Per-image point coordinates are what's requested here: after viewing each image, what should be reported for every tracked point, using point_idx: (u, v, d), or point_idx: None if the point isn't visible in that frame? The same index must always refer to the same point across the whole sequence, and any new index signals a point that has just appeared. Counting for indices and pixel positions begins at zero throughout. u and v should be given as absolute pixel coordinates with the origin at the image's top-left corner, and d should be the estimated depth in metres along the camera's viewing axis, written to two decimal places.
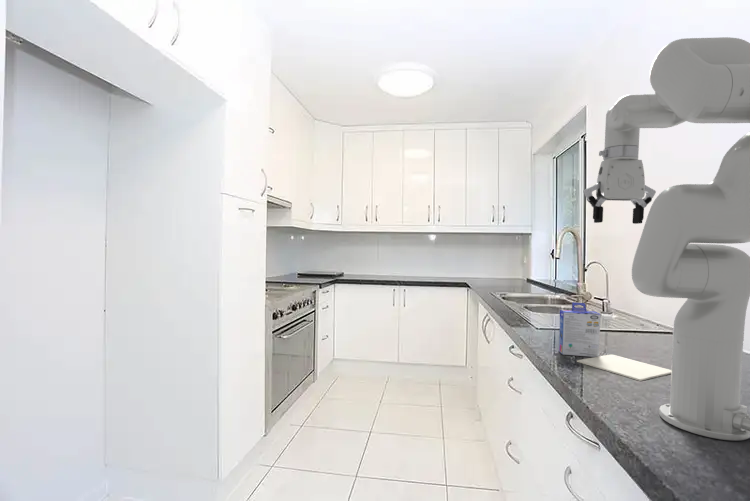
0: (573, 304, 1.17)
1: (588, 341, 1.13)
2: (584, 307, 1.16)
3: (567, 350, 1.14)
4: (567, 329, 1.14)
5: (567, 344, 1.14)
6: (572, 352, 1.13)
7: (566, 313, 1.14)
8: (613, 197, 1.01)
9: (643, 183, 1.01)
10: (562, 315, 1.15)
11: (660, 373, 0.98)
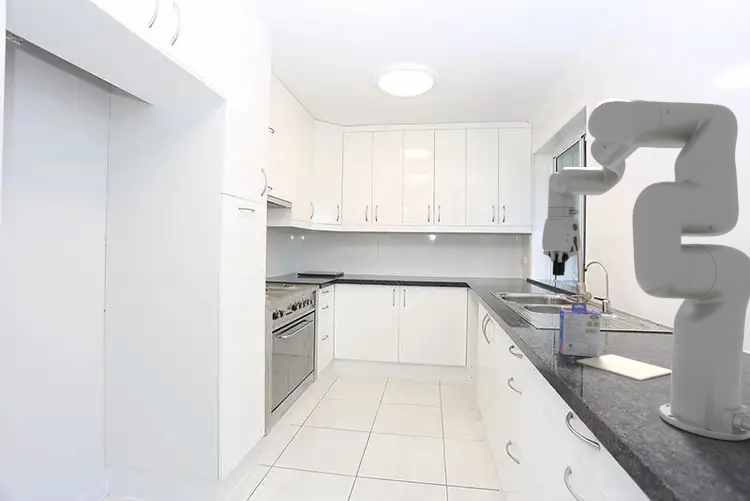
0: (573, 304, 1.17)
1: (588, 341, 1.13)
2: (584, 307, 1.16)
3: (567, 350, 1.14)
4: (567, 329, 1.14)
5: (567, 344, 1.14)
6: (572, 352, 1.13)
7: (566, 313, 1.14)
8: None
9: None
10: (562, 315, 1.15)
11: (660, 373, 0.98)
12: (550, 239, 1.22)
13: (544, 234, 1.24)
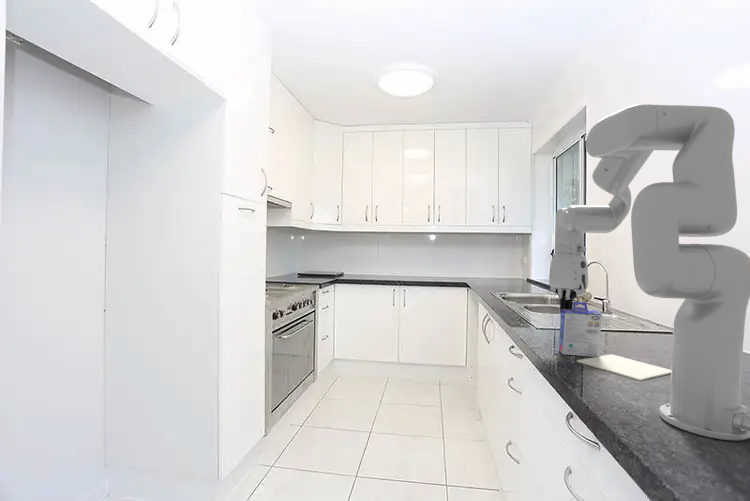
0: (574, 304, 1.15)
1: (588, 341, 1.12)
2: (585, 307, 1.15)
3: (567, 350, 1.13)
4: (568, 329, 1.13)
5: (567, 344, 1.13)
6: (572, 352, 1.13)
7: (567, 314, 1.13)
8: None
9: None
10: (563, 315, 1.14)
11: (660, 373, 0.98)
12: (557, 276, 1.19)
13: (551, 270, 1.21)
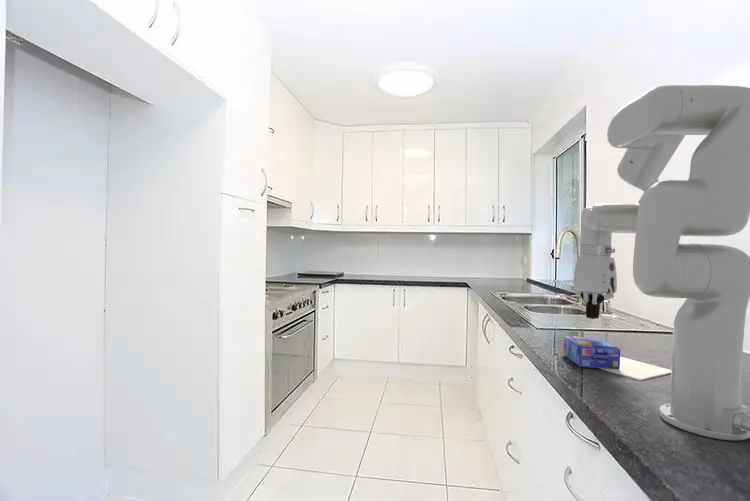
0: (597, 356, 0.99)
1: None
2: (608, 357, 1.00)
3: None
4: None
5: None
6: None
7: (581, 366, 1.02)
8: None
9: None
10: (577, 361, 1.03)
11: (660, 373, 0.98)
12: (583, 279, 1.12)
13: (576, 273, 1.14)
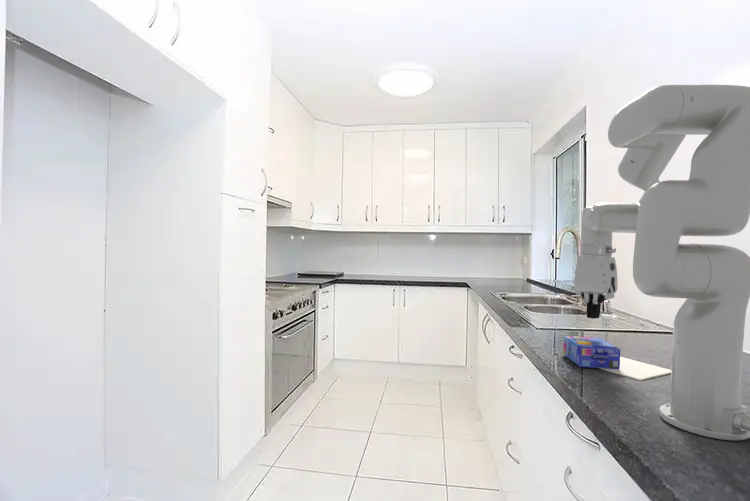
0: (597, 356, 0.99)
1: None
2: (608, 357, 1.00)
3: None
4: None
5: None
6: None
7: (581, 366, 1.02)
8: None
9: None
10: (577, 361, 1.03)
11: (660, 373, 0.98)
12: (584, 278, 1.12)
13: (577, 272, 1.14)
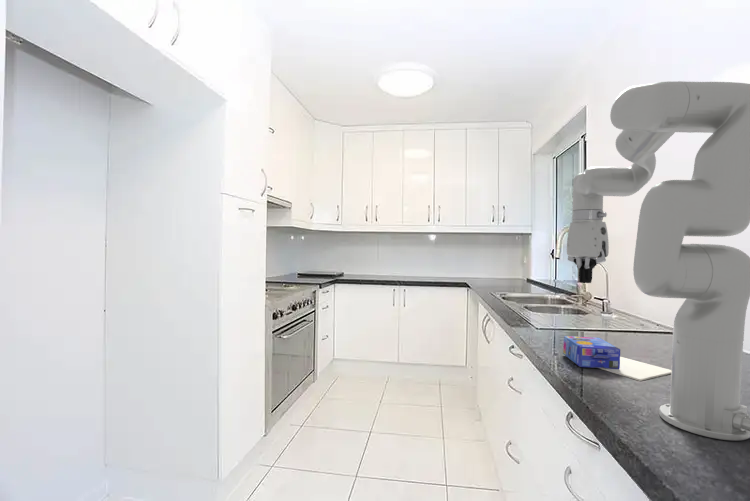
0: (597, 356, 0.99)
1: None
2: (608, 357, 1.00)
3: None
4: None
5: None
6: None
7: (581, 366, 1.02)
8: None
9: None
10: (577, 361, 1.03)
11: (660, 373, 0.98)
12: (575, 244, 1.14)
13: (569, 239, 1.16)
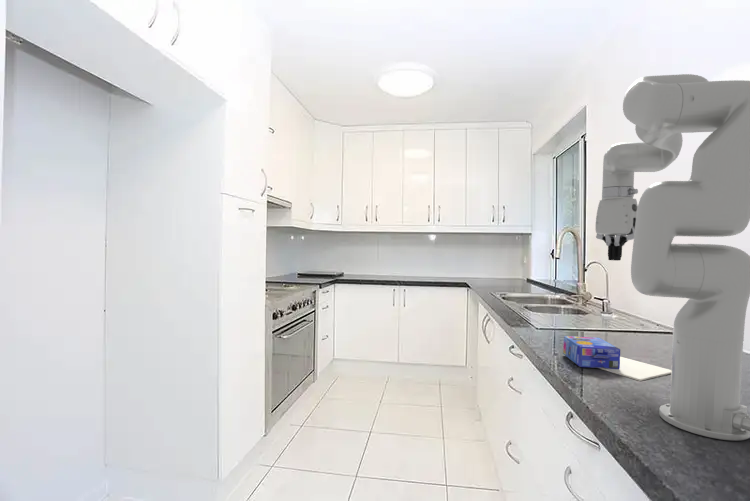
0: (597, 356, 0.99)
1: None
2: (608, 357, 1.00)
3: None
4: None
5: None
6: None
7: (581, 366, 1.02)
8: None
9: None
10: (577, 361, 1.03)
11: (660, 373, 0.98)
12: (605, 221, 1.14)
13: (598, 217, 1.16)
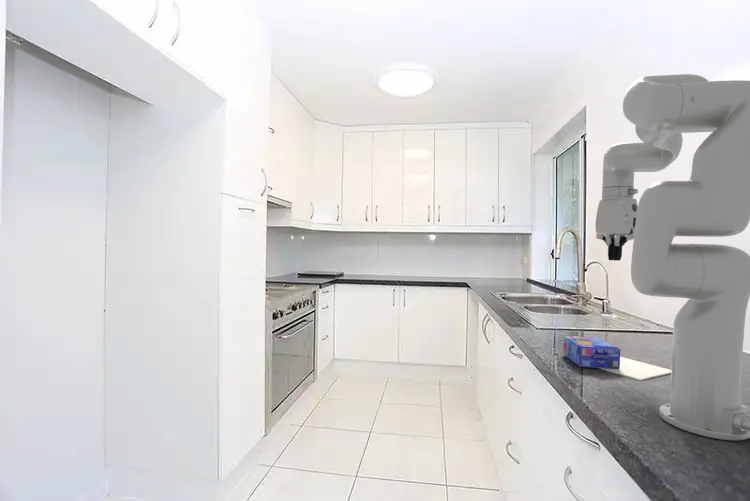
0: (597, 356, 0.99)
1: None
2: (608, 357, 1.00)
3: None
4: None
5: None
6: None
7: (581, 366, 1.02)
8: None
9: None
10: (577, 361, 1.03)
11: (660, 373, 0.98)
12: (605, 221, 1.14)
13: (598, 217, 1.16)
